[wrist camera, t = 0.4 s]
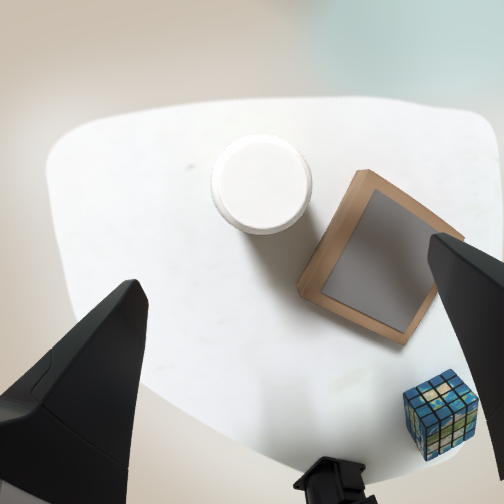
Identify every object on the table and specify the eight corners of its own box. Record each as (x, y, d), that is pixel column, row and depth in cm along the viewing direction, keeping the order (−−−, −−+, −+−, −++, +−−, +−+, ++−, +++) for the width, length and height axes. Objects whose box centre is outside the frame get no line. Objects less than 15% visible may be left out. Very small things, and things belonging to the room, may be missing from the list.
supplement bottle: (311, 185, 23) (349, 186, 13) (259, 236, 24) (263, 270, 14) (259, 133, 22) (262, 99, 13) (207, 185, 23) (176, 186, 14)
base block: (392, 331, 25) (405, 347, 23) (296, 285, 25) (301, 298, 22) (447, 232, 24) (467, 238, 21) (357, 170, 23) (370, 169, 20)
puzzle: (451, 404, 28) (474, 435, 22) (406, 427, 28) (426, 462, 22) (451, 367, 27) (479, 398, 21) (402, 392, 27) (425, 428, 21)
